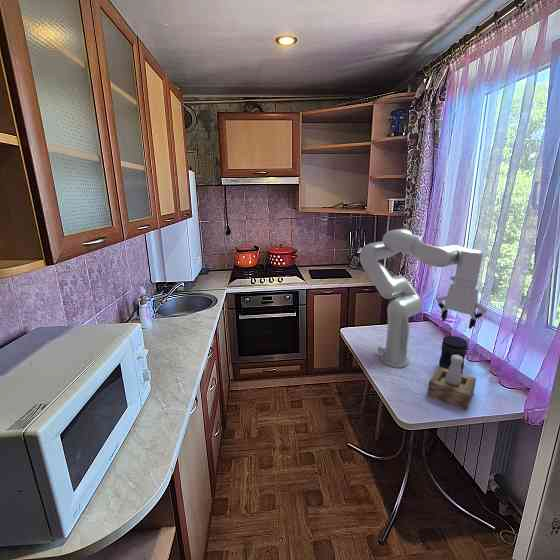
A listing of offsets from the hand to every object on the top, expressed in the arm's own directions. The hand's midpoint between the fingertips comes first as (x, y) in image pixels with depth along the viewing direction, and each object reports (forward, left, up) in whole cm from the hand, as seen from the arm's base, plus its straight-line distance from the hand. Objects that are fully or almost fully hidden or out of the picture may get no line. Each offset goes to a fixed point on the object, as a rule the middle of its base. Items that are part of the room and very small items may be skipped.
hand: (457, 323), depth 126 cm
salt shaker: (+3, -4, -25) cm, 25 cm away
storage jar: (-3, +14, -29) cm, 32 cm away
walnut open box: (+3, -4, -29) cm, 30 cm away
